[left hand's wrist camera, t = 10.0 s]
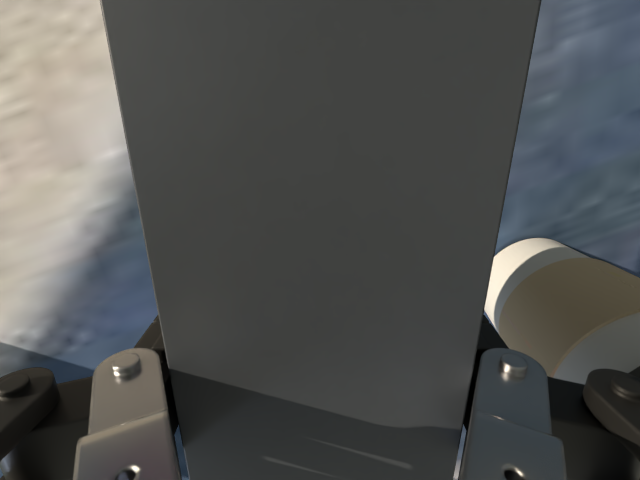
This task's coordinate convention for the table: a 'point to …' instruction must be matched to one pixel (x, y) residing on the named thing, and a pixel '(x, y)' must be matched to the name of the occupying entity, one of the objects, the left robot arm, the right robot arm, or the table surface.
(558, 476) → the left robot arm
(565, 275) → the coffee cup
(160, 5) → the box
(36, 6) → the table surface
